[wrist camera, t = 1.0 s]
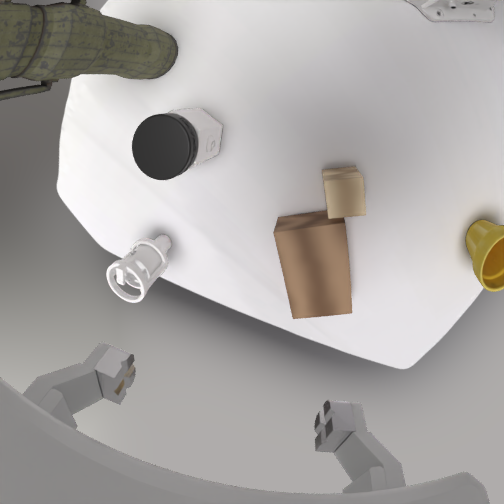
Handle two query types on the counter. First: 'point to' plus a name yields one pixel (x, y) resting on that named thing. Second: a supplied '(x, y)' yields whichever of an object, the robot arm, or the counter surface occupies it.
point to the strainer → (140, 266)
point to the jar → (175, 142)
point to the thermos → (76, 45)
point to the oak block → (344, 192)
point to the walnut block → (314, 264)
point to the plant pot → (487, 253)
